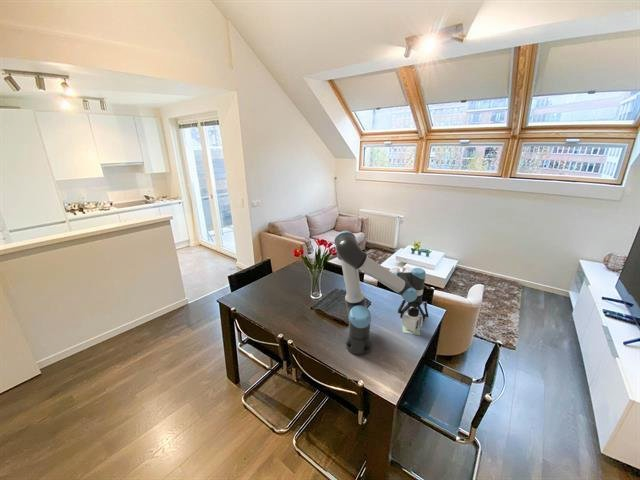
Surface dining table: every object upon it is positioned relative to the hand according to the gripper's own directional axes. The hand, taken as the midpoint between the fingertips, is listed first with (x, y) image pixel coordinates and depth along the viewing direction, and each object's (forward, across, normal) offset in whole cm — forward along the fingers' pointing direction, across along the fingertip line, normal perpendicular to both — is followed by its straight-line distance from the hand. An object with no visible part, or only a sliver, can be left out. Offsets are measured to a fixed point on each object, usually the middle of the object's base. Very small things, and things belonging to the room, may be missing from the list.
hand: (411, 323), depth 164 cm
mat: (+4, 0, 0) cm, 4 cm away
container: (+2, 0, 0) cm, 2 cm away
